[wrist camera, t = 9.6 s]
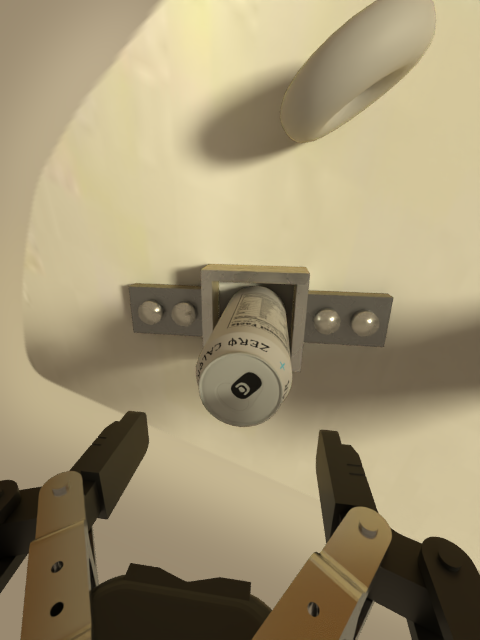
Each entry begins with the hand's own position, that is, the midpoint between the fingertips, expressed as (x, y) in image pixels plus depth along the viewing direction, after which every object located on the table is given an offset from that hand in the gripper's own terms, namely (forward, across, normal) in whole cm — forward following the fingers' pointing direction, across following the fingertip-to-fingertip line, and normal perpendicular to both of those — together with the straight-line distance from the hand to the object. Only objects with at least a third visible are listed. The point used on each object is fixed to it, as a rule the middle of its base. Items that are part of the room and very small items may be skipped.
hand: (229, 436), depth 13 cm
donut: (+19, -6, -18) cm, 27 cm away
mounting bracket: (+18, 0, 0) cm, 19 cm away
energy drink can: (+19, 0, 0) cm, 19 cm away
